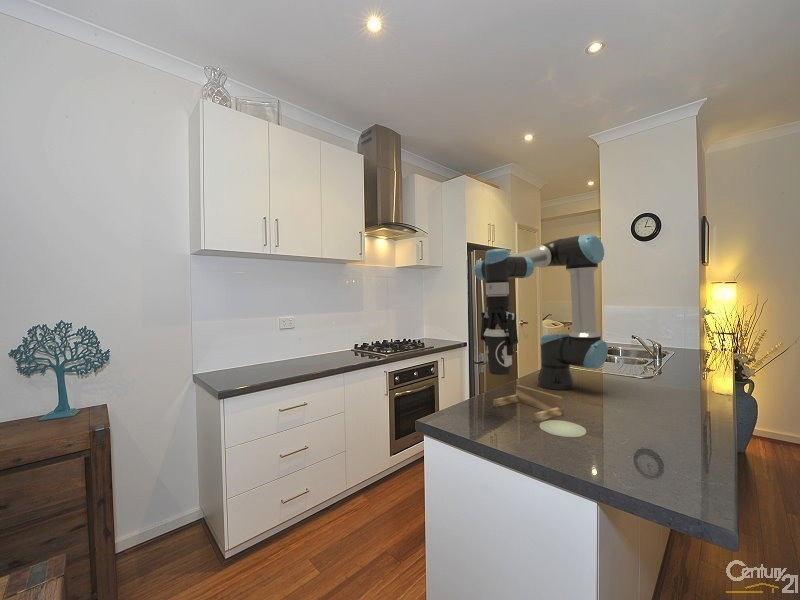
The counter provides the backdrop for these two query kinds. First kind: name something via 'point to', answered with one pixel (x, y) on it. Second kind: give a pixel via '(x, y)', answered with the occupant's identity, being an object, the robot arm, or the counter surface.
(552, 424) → the coaster
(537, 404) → the shelf bay
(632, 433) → the counter surface
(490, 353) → the coffee cup
